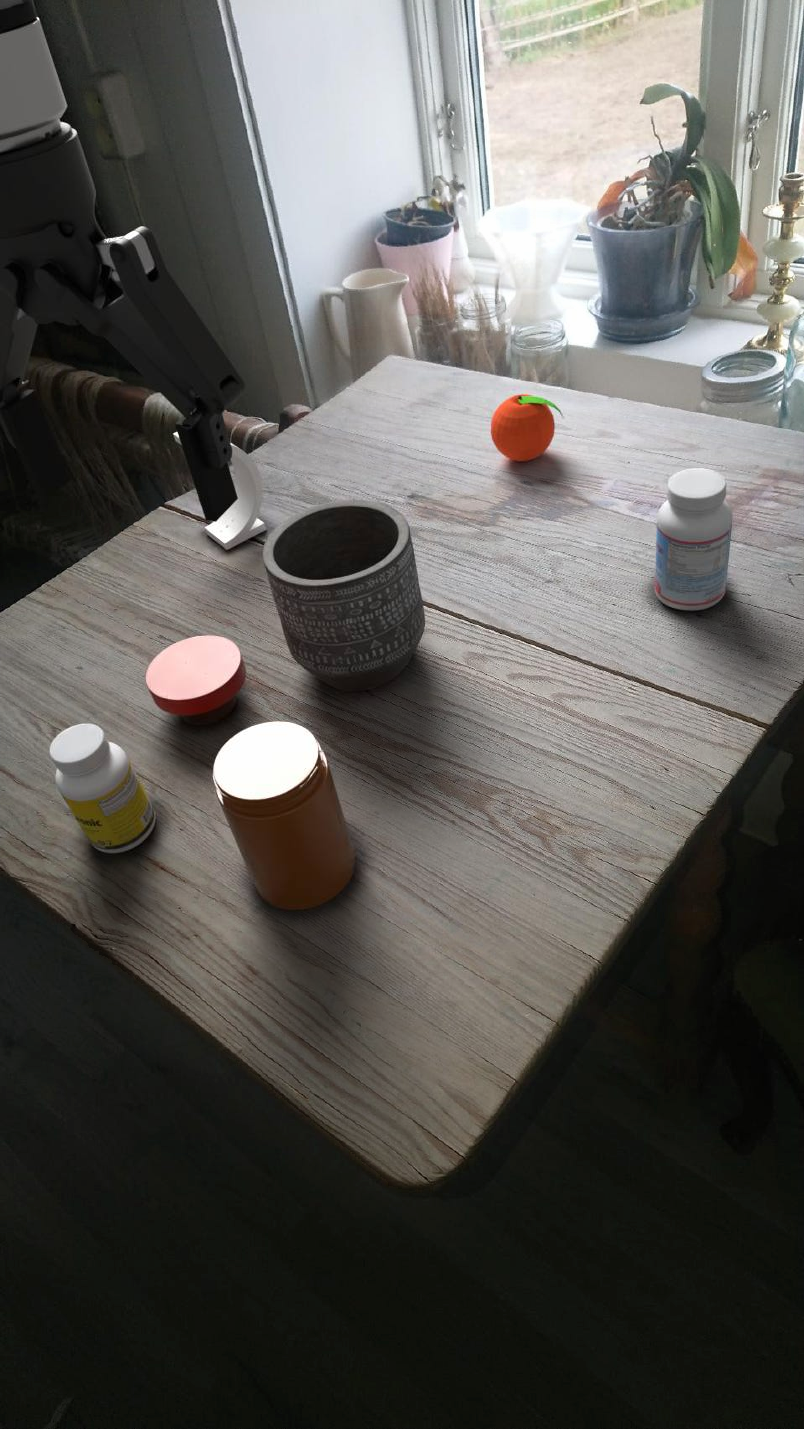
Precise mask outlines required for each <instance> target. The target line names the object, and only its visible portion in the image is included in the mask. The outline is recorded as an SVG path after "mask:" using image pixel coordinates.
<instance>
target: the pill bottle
mask: <svg viewBox="0 0 804 1429" xmlns="http://www.w3.org/2000/svg"><path fill="white" fill-rule="evenodd" d="M666 488H667V489H666V490H667V492H666V498H667V500H665V501H664V502H663V504H661V506H660V508H659V510H658V513H657V519H656V537H655V538H656V539H655V564H654V566H655V567H654V592H655V595H656V597H657V598H658V600H659V601H660V602H661V603H662V604H664V605H665V606H667V607H670V608H673V609H676V610H681V611H702V610H707V609H709V608H711V607H713V606H715V605H716V604H718V603H719V602H720V601H721V600H722V599H723V597H724V595H725V594H726V590H727V580H728V571H729V561H730V560H729V559H730V549H731V539H732V527H733V511H732V507H731V506H730V504H728V502H727V501H726V500H725V499H726V498H727V481H726V478H725V477H724V476H723V475H722V474H721V473H720V472H718V471H716V470H713V469H709V468H703V467H692V468H687V469H683V470H682V469H681V470H680V471H677V472H676V473H674V474H673V475H671V477H670V478H669V479H668V482H667V487H666Z"/></svg>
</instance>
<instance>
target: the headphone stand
mask: <svg viewBox="0 0 804 1429" xmlns="http://www.w3.org/2000/svg"><path fill="white" fill-rule="evenodd" d="M172 435H173V437H174V440H175V442H176V443H177V444H179V445H181V442H180V439H179V436H178V433H177V431H176V432H174V433H172ZM230 443H231V447H232V458H231V459H230V460H229V461H230V462H231V465H232V468H233V474H234V475H233V476H234V482H233V483H234V487H235V490H236V494H237V497H238V499H237V500H236V501H235V502H234V503H233V504H232V506H231V507H230V508H229V509H228V510H227V511H226V512H225V513H224V514H223V515H222V516H221V517H220V518H219V519H218V520H217V521H216V522H214V521H212V522H211V523H210V524H208V525H207V526H205V527H204V530H205V533H206V535H207V536H208V537H210V538H211V539H213V540H214V541H215V542H216V543H217V544H219V545H220V546H221V547H223V548H224V549H225V550H226V551H228V550H230V549H232V548H234V547H235V546H238V545H239V544H242V543H244V542H245V541H247V540H249V539H251V538H253V537H255V536H257V535H258V534H260V533H263V532H264V531H266V530H267V527H266V524H265V522H264V521H262V520H261V519H259V518H258V516H259V514H260V510H261V507H262V503H263V494H264V489H263V481H262V476H261V472H260V471H259V468H258V466H257V465H256V463H255V461H254V460H253V459H252V458H251V457H250V455H248V454H247V452H246V451H244V450H243V449H241V448H239V447H238V446H236V445H235V444H233V443H232V442H230Z"/></svg>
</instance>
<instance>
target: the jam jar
mask: <svg viewBox="0 0 804 1429" xmlns="http://www.w3.org/2000/svg"><path fill="white" fill-rule="evenodd" d="M212 767H213V768H212V779H213V783H214V787H215V794H216V798H217V800H218V803H219V805H220V807H221V809H222V813H223V814H224V817H225V819H226V821H227V824H228V826H229V829H230V831H231V833H232V836H233V838H234V840H235V844H236V846H237V847H238V850H239V852H240V854H241V857H242V859H243V862H244V864H245V867H246V869H247V871H248V873H249V876H250V879H251V881H252V883H253V885H254V888H255V890H256V892H257V894H258V895H259V896H260V897H261V898H262V899H263V900H264V901H265V902H266V903H268V904H269V905H272V906H274V907H276V908H278V909H283V910H288V911H302V910H307V909H312V908H315V907H318V906H321V905H323V904H326V903H327V902H328V901H331V900H332V899H333V898H335V897H336V896H338V895H339V894H340V893H341V892H342V890H344V888H345V887H346V886H347V885H348V883H349V882H350V881H351V878H352V876H353V874H354V871H355V868H356V852H355V849H354V846H353V843H352V838H351V835H350V832H349V829H348V825H347V822H346V818H345V814H344V811H343V808H342V804H341V802H340V798H339V794H338V791H337V787H336V784H335V781H334V778H333V773H332V771H331V767H330V763H329V761H328V758H327V755H326V753H325V751H324V750H323V748H321V745H320V743H319V740H317V738H316V737H315V735H314V734H313V733H312V732H311V731H310V730H308V729H307V728H306V727H304V726H302V725H300V724H299V723H295V722H291V721H282V720H279V721H278V720H277V721H267V722H262V723H257V724H255V725H252V726H249V727H247V728H245V729H243V730H241V731H239V732H237V733H236V734H235V735H233V736H232V737H231V738H229V739H228V741H226V743H224V745H223V746H222V747H221V748H220V750H218V753H217V755H216V757H215V760H214V762H213V766H212Z"/></svg>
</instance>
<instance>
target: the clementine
mask: <svg viewBox="0 0 804 1429" xmlns="http://www.w3.org/2000/svg"><path fill="white" fill-rule="evenodd" d="M549 407H552V408H554V409H555V410H556V411H558V412H559V414H560V415H561V417H562V418H563V419H565V417H564V416H563V413H562V411H561V409H560V408H559V407H558V406H557V405H556V404H555V403H553V402H552V401H550V400H548V399H546V398H543V397H540V396H535V395H532V394H525V393H521V394H515V395H512V396H510V397H508V398H507V399H506V400H504V401H503V402H501V403H500V404H499V406H498V407H497V408H496V409H495V411H494V413H493V416H492V418H491V421H490V436H491V440H492V443H493V444H494V446H495V448H496V450H497V451H498V452H500V453H501V454H502V455H503V456H504V457H506V458H508V459H510V460H513V461H517V462H527V461H531V460H535V459H536V458H537V457H539V456H541V455H542V454H543V453H545V452H546V451H547V449H548V448H549V447H550V446H551V443H552V441H553V438H554V436H555V430H556V429H555V428H556V423H555V418H554V415H553V413H552V411H551V409H550V408H549Z"/></svg>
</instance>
